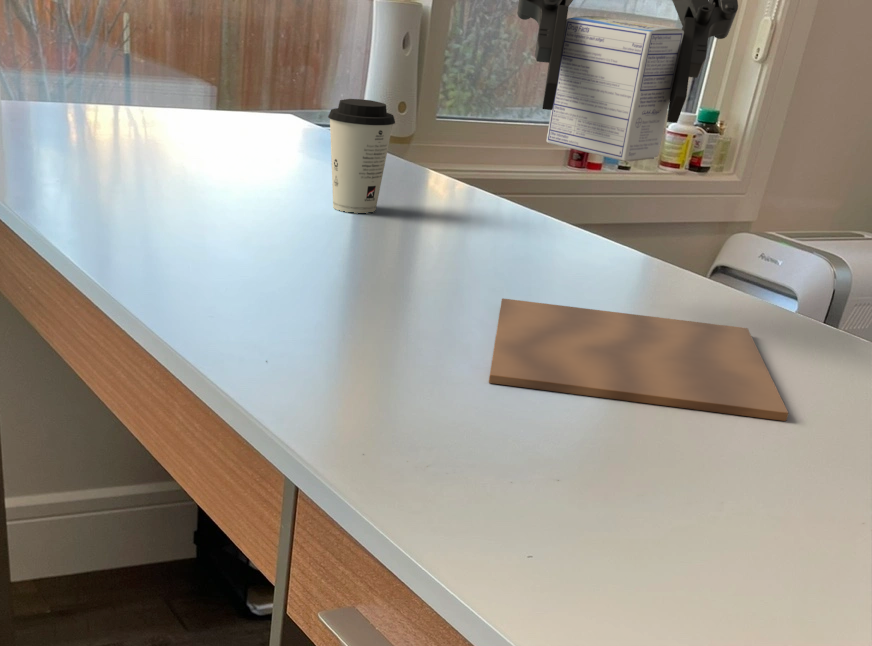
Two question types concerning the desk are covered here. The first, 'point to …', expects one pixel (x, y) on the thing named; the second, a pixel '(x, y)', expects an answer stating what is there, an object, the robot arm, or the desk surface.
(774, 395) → the wooden board
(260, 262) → the desk surface
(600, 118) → the medicine box
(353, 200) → the coffee cup
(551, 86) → the robot arm
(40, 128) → the desk surface
